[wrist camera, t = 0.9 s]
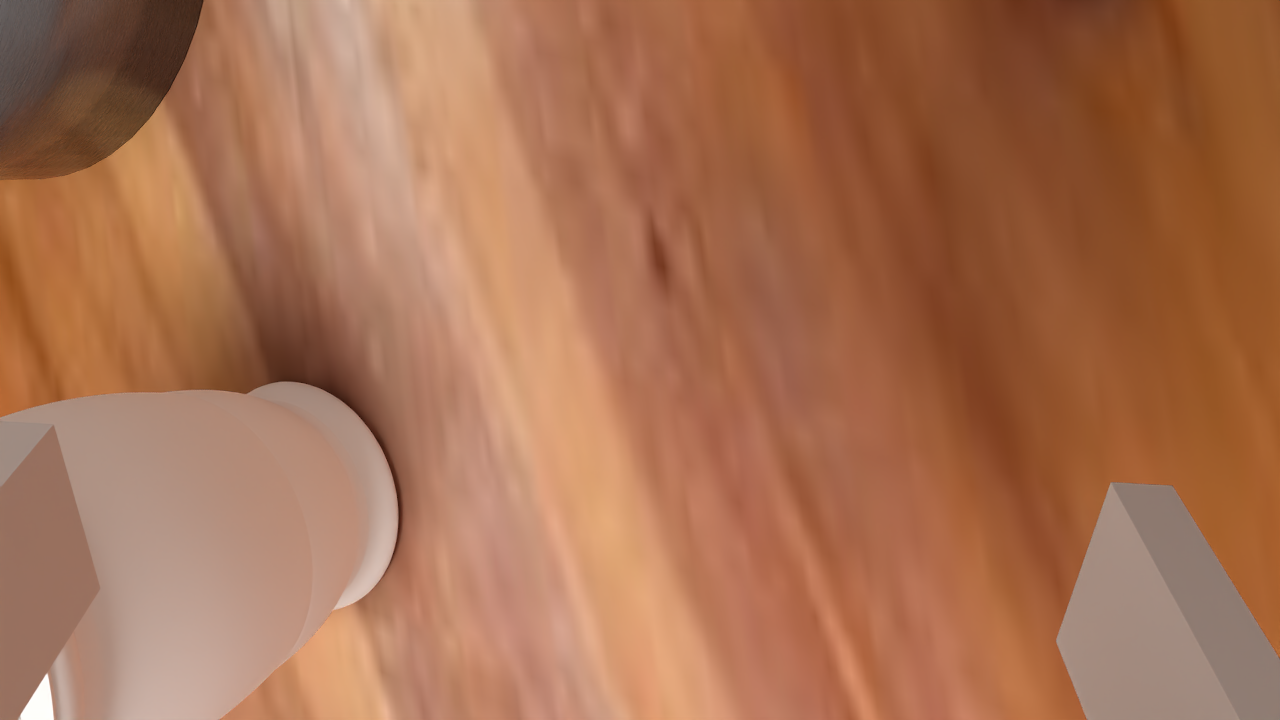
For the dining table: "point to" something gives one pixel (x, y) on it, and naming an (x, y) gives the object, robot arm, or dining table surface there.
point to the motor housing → (83, 77)
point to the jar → (210, 542)
